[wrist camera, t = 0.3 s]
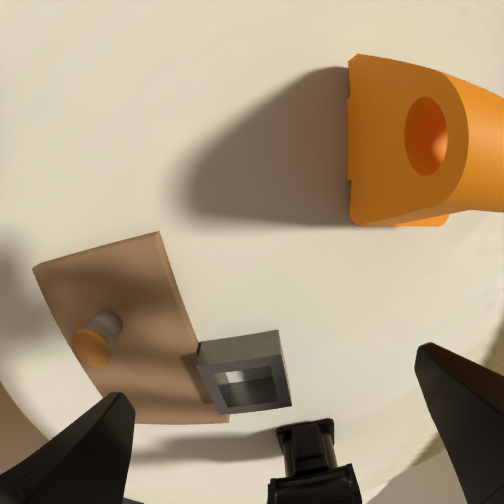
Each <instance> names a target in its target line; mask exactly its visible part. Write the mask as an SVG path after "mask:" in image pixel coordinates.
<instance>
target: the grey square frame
mask: <svg viewBox="0 0 504 504" xmlns="http://www.w3.org/2000/svg"><path fill="white" fill-rule="evenodd" d="M267 366H270V369H271V373H272V376H273V378H268V379H261V380H254V381H247V382H239V383H231V384H230V383H229V381H228V378H227V376H226V373H225V372H232V371H239V370H247V369H254V368H260V367H267ZM196 367H197V369H198V371H199V373H200V376H201V378H202V380H203V382H204V384H205V386H206V388H207V390H208V392H209V395H210V397H211V399H212V401H213V403H214V405H215V407H216V409H217V411H218V413H219V415H225V414H237V413H246V412H255V411H263V410H270V409H277V408H283V407H289V406H292V402H291V394H290V387H289V381H288V376H287V371H286V366H285V361H284V356H283V351H282V346H281V341H280V336H279V332H278V330H275V331H269V332H264V333H258V334H252V335H246V336H239V337H233V338H226V339H219V340H212V341H204V342H202V343H201V347H200V351H199V355H198V360H197V364H196Z"/></svg>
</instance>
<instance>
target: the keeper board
mask: <svg viewBox="0 0 504 504" xmlns="http://www.w3.org/2000/svg"><path fill="white" fill-rule="evenodd" d="M32 270H33V273H34V275H35V277H36V280H37V282H38V285H39V287H40V289H41V291H42V294H43V296H44V298H45V300H46V302H47V304H48V306H49V308H50V311H51V313H52V315H53V317H54V319H55V320H56V322H57V324H58V326H59V328H60V330H61V332H62V334H63V335H64V337H65V339H66V341H67V343H68V344H69V346H70V348H71V349H72V351H73V353H74V354H75V356H76V358H77V359H78V361H79V363H80V364H81V366H82V367H83V369H84V370H85V372H86V373H87V375H88V377H89V378H90V379H91V381H92V382H93V384H94V385H95V387H96V388H97V390H98V391H99V392H100V394H101V395H102V397H103V398H104V397H106V396H107V395H108V394H109V393H111V392H122V393H124V394H125V395H126V397H127V398H128V400H129V401H130V403H131V404H132V406H133V407H134V409H135V414H136V416H135V423H138V424H164V425H188V424H215V423H229V414H225V415H219V413H218V411H217V409H216V407H215V405H214V403H213V401H212V399H211V397H210V395H209V392H208V390H207V388H206V386H205V384H204V382H203V380H202V378H201V376H200V373H199V371H198V369H197V367H196V364H197V360H198V355H199V351H200V345H199V343H198V340H197V338H196V335H195V333H194V330H193V328H192V325H191V322H190V320H189V317H188V314H187V312H186V309H185V306H184V304H183V301H182V298H181V295H180V293H179V290H178V287H177V284H176V281H175V278H174V275H173V272H172V269H171V266H170V263H169V260H168V257H167V254H166V251H165V248H164V245H163V241H162V238H161V235H160V232H159V231H158V232H153V233H149V234H145V235H141V236H137V237H134V238H130V239H126V240H122V241H118V242H114V243H111V244H107V245H103V246H99V247H96V248H92V249H88V250H85V251H81V252H78V253H74V254H71V255H67V256H64V257H60V258H57V259H53V260H50V261H47V262H43V263H40V264H38V265H37V266H35V267H34V268H33V269H32Z"/></svg>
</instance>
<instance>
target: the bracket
mask: <svg viewBox="0 0 504 504" xmlns="http://www.w3.org/2000/svg"><path fill="white" fill-rule="evenodd" d="M348 67H349V80H350V98H348V99H347V119H348V179H349V180H351V200H350V218H349V219H351V220H352V221H353V222H355V223H356V224H357V225H358V226H435V227H438V226H441V225H443V224H444V223H445V222H446V221H447V219H448V217H449V214H451V213H456V212H461V211H466V210H480V211H491V212H504V98H502V97H500V96H498V95H496V94H494V93H492V92H490V91H488V90H486V89H483V88H481V87H479V86H477V85H474V84H472V83H469V82H467V81H464V80H462V79H459V78H457V77H454V76H451V75H448V74H446V73H443V72H440V71H437V70H433V69H430V68H426V67H422V66H419V65H415V64H410V63H406V62H401V61H397V60H392V59H387V58H381V57H375V56H369V55H362V54H357V55H356V56H354V57H353V58H352V59H351V60H349V61H348Z"/></svg>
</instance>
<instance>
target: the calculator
mask: <svg viewBox="0 0 504 504" xmlns="http://www.w3.org/2000/svg"><path fill="white" fill-rule="evenodd" d="M122 504H144V503H141V502H137V501H133V500H130V499H126V498H123V502H122Z"/></svg>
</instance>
